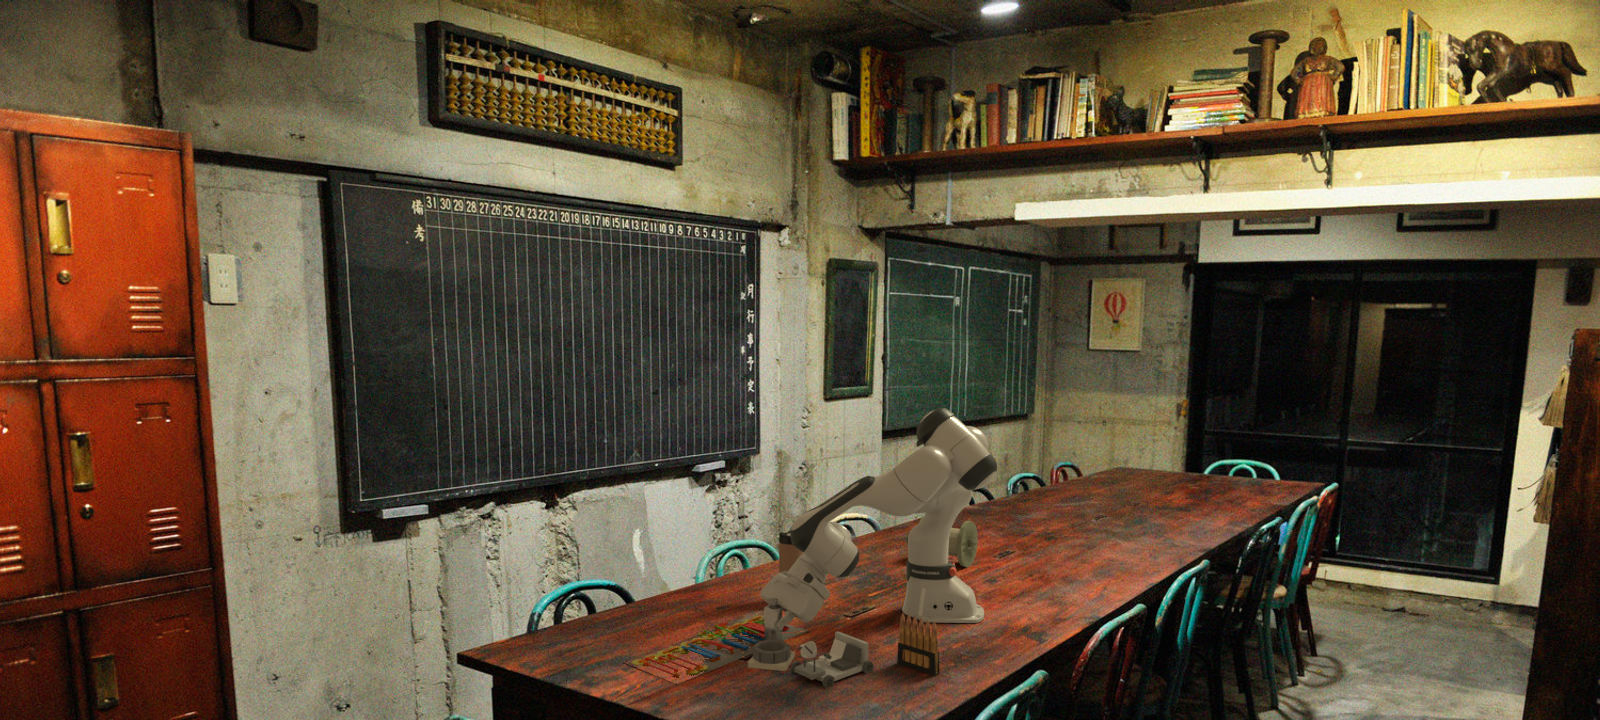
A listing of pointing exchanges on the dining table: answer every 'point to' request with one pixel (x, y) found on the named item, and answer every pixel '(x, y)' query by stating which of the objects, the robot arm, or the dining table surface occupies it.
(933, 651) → the ammunition clip
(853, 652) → the small toy car
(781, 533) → the travel mug
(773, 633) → the grey peg
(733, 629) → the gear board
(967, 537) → the spool
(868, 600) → the dining table surface
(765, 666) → the socket plate
